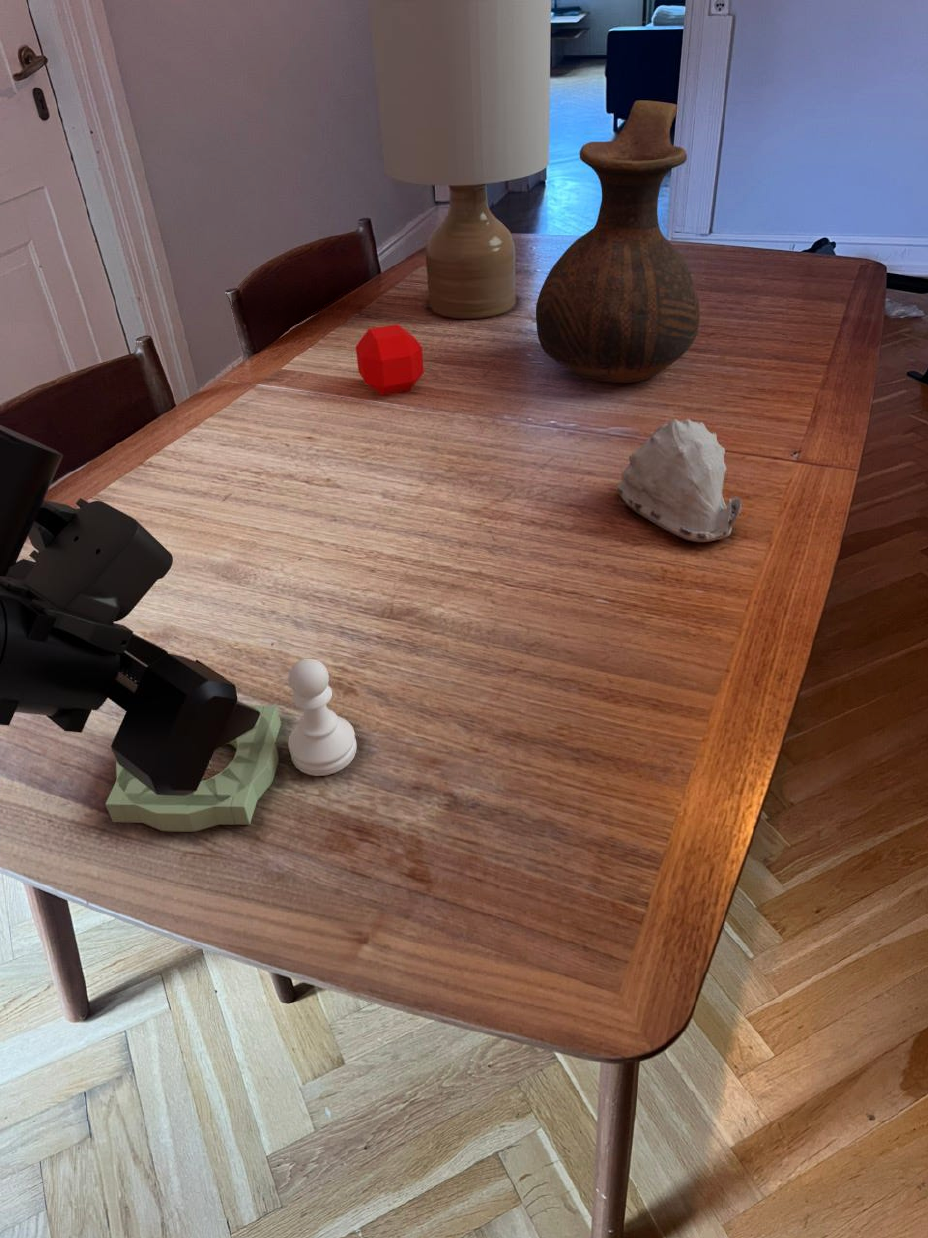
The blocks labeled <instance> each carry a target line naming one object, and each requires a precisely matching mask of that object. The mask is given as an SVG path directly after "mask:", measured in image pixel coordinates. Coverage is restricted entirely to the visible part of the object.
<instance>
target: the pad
mask: <svg viewBox="0 0 928 1238" xmlns="http://www.w3.org/2000/svg"><path fill="white" fill-rule="evenodd" d="M242 703H243V704H246V705H248V706H250V707H252V708H254V709H256V710H258V711H260V716H259V719H258V721H257V723H256V725H255V727H254V728H253V729H251V730H250V731H248V732H246V733H244V734H243V735H241V736H239V737H238V738H236V739H234V740H232V741H231V742H229V743H227V745H231V746H233V747H234V749H236V750H235V753H234V757H233V759H232V760H231V761H230V762H229V763H228V765H226V767H225V768H224V769H223V770H222V771H219V772H218V773H217V774H215V775H213V776H212V777H210V778H208V779H205V780H201V782H200V784H199V786H198V789H197V791H195V792H193V793H191V794H188V795H186V796H176V795H157V794H155V793H154V792H153V791H152V790H150V789H149V788H148V787H147V786H145V785H144V784H143V783H142V782H140V781H139V780H138V779H137V778H135V777H134V776H133V775H132V774H130V773H129V772H128V771H127V770H125V769H124V768H123V767H122V766H120V765H119V764H118V762H117V760H116V761H115V778H116V779H115V783H114V785H113V787H112V789H111V791H110V793H109V795H108V797H107V800H106V801H105V808H106V809H107V812H108V814H109V816H110V819H111V820H112V822H113V823H129V824H130V823H131V824H132V823H133V824H135V823H136V824H137V823H138V824H145V825H147V826H150V827H152V828H154V829H157V830H159V831H161V832H184V833H195V832H199V831H202V830H206V829H209V828H213V827H215V826H219V825H225V826H227V825H230V826H231V825H232V826H235V825H237V826H239V825H240V826H243V825H244V826H249V825H251V823H252V819H253V816H254V813H255V810H256V807H257V803H258V800H259V799H261V798H262V796H263V794H265V792H266V791H267V790H268V789H269V788H270V786H271V785H272V783H273V782H274V778H275V775H276V771H277V770H278V769H277V768H278V765H279V761H280V757H279V752H278V748H277V745H276V742H277V739H278V735H279V732H280V729H281V725H282V722H281V717H280V713H279V709H278V706H277V705H260V704H259V705H257V704H256V705H255V704H254V705H252V704H251V705H249V704H247V703H244V702H242Z"/></svg>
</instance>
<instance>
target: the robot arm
mask: <svg viewBox="0 0 928 1238" xmlns="http://www.w3.org/2000/svg"><path fill="white" fill-rule="evenodd" d="M63 458H64V454H63V453H61V452H59V451H58V450H56V449H54V448H52V447H50V446H47V445H46V444H43V443H41V442H39V441H37V440H35V439H33V438H31V437H29V436H27V435H25V434H22V433H20V432H17V431H15V430H13V429H10V428H8V427H6V426H3V425H1V424H0V725H1V726H10V725H11V722H12V720H13V718H14V716H15V713H20V714H29V715H38V716H45V717H47V718H48V719H49V720H50V721H51V722H53V723H55V725H56V726H58V727H59V728H60V729H61V730H63V732H68V733H69V732H71V733H80V734H82V733H83V731H84V728H85V727H86V724H87V721H88V719H89V718H90V715H91V713H92V711H98V710H99V709H100V708H101V707H103V705H104V704H105V703H106V701H107V700H110V701H111V702H113V703H114V704H116V705H117V706H118V707H120V708H121V709H122V710H123V711H125V713H124V716H123V718H122V720H121V722H120V725H119V727H118V729H117V732H116V734H115V736H114V738H113V740H112V742H111V745H110V748H111V750H112V753H113V755H114V758H115V760H116V761H117V762H118V764H119V765H120V766H122V767H123V768H124V769H125V770H127V771H128V772H129V773H130V774H132V775H133V776H134V777H135V778H137V779H138V780H139V781H140V782H142V783H143V784H144V785H145V786H147V787H148V788H149V789H150V790H152V791H153V792H154V793H155V794H157V795H176V796H186V795H188V794H191V793H193V792H195V791H197V789H198V786H199V784H200V782H201V781H203V778H204V775H205V773H206V771H207V769H208V767H209V764H210V762H211V760H212V758H213V755H214V753H215V751H217V750H218V749H220V748H222V747H224V746H225V745H228V743H229V742H231V741H232V740H234V739H236V738H238V737H239V736H241V735H243V734H244V733H246V732H248V731H250V730H251V729H253V728H254V727H255V725H256V723H257V721H258V719H259V716H260V711H258V710H256V709H254V708H252V707H250V706H248V705H249V704H247V703H244V702H241V701H238V693H237V692H238V691H237V688H236V687H237V686H236V684H235V683H233V682H231V681H230V680H228V679H227V678H226V677H224V676H223V675H222V674H220V673H219V672H217V671H216V670H215V669H212V668H211V667H209V666H207V665H206V664H205V663H203V662H201V661H200V660H198V659H196V660H194V659H190V658H188V657H186V656H182V655H178V654H173V653H169V652H168V650H166V649H165V648H163V647H161V646H159V645H157V644H155V643H153V642H151V641H149V640H147V639H145V638H144V637H141V636H139V635H137V634H136V633H134V631H133V630H132V629H130V628H129V627H128V626H126V625H124V624H120V623H116V622H119V621H121V620H123V619H125V618H126V617H128V616H129V615H130V613H131V612H132V611H133V610H134V609H135V607H137V606H138V604H139V603H140V601H142V600H143V598H144V597H145V596H146V594H147V593H148V592H149V591H150V590H151V588H153V586H154V585H155V584H156V583H157V582H158V580H162V579H164V578H165V577H166V575H167V574H168V573H169V572H170V570H171V568H172V566H173V562H174V556H173V554H172V553H171V552H170V551H169V550H168V549H167V548H166V547H165V546H164V545H163V544H162V543H161V542H160V541H159V540H157V538H156V537H154V536H153V535H152V534H151V533H150V532H149V531H148V530H147V529H146V528H145V526H143V525H142V524H141V523H140V522H139V521H138V520H137V519H136V518H134V517H132V516H131V515H128V514H127V513H125V512H123V511H121V510H119V509H117V508H115V507H113V506H112V505H111V504H108V503H106V502H104V501H102V500H93V501H91V502H89V501H87V500H85V499H83V498H81V497H80V498H79V499H78V500H77V501H76V502H75V504H76V506H78V507H77V508H75V507H72V506H71V505H68V504H65V503H60V502H55V501H51V500H46V499H45V498H46V495H47V493H48V491H49V489H50V487H51V484H52V482H53V480H54V478H55V476H56V473H57V471H58V469H59V466H60V464H61V461H62V459H63ZM27 539H29V542H30V545H31V546H32V547H33V548H34V549H32V551H31V552H30V554H29V555H28V556H29V558H31V559H33V561H32V560H29V559H26V558H22V559H20V560H18V559H19V557H20V556H21V555H20V554H21V552H22V550H23V548H24V545H25V543H26V542H27ZM243 703H244V704H243ZM246 704H247V705H246Z"/></svg>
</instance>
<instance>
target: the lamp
mask: <svg viewBox="0 0 928 1238" xmlns="http://www.w3.org/2000/svg"><path fill="white" fill-rule="evenodd" d="M368 7H369V19H370V20H369V21H370V29H371V31H370V32H371V40H372V51H373V60H374V72H375V73H374V74H375V82H376V83H375V84H376V94H377V104H378V105H377V107H378V117H379V126H380V136H381V148H382V158H383V168H384V169H383V170H384V173H385V175H386V176H388V177H389V178H392V179H394V180H396V181H399V182H405V183H409V184H416V185H426V186H447V187H448V188H449V195H448V197H449V198H448V199H449V207H448V209H447V213H446V215H445V216H444V218H443V220H442V221H441V222H440V223H439V224H438V225H437V226H436V227H435V228H434V230H433V231H432V233H431V234H430V235H429V237H428V239H427V241H426V247H425V263H426V264H425V265H426V274H427V278H426V279H427V292H428V299H429V300H428V301H429V307H430V309H431V310H432V311H433V312H434V313H435V314H437V315H439V316H442V317H446V318H451V319H458V320H470V319H471V320H473V319H485V318H486V319H487V318H491V317H495V316H496V317H497V316H499V315H502V314H506V313H507V312H509V311H510V310H512V309H513V308H514V306H515V305H516V303H517V298H516V297H517V294H516V292H517V290H516V289H517V288H516V286H517V281H516V265H517V262H516V259H517V257H516V255H517V254H516V253H517V252H516V246H515V242H514V239H513V235H512V233H511V231H510V229H508V227H506V225H504V223H502V221H500V220H499V219H498V218H497V217H496V216H495V215H494V213H493V212H492V211H491V210H490V207H489V201H488V193H487V191H488V190H487V186H488V184H493V183H502V182H507V181H512V180H517V179H521V178H525V177H529V176H532V175H535V174H537V173H539V172H542V171H543V170H544V169H546V168H547V167H548V166H549V164H550V107H551V106H550V105H551V104H550V102H551V101H550V100H551V99H550V98H551V34H552V33H551V32H552V31H551V29H552V28H551V27H552V26H551V25H552V23H551V22H552V21H551V20H552V19H551V18H552V0H368Z"/></svg>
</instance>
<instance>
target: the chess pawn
mask: <svg viewBox="0 0 928 1238" xmlns="http://www.w3.org/2000/svg"><path fill="white" fill-rule="evenodd" d="M329 682H330V676H329V671H328V669H327V667H326V666H325V665H324V663H323V662H321V661H320V660H318V659H315V658H304V659H301V660H299V661H297V662H295V664H294V665H293V666H291V668H290V670H289V673H288V684H289V687H290V689H291V690H292V692H293V694H292V703H293V704H294V705H295V707H297V708H298V709H301V710H303V714H302V715H301V716H300V718H299V720H298V723H297V725H296V726H294V728H293V730H291V732H290V734H289V736H288V741H287V746H288V750H289V754H290V758H291V762H292V764H293V765H294V767H295V768H296V769H297V770H298V771H300V772H301V773H304V774H307V775H309V776H314V777H315V776H316V777H321V776H322V777H323V776H329V775H333V774H336V773H338V772H340V771H341V770H343V769H345V768H346V767H348V766H349V765H350V764H351V762H352V761H353V759H355V756H356V753H357V746H358V745H357V740H356V732H355V730H354V727H353V726H352V724H351V723H350V722H349V721H348V720H347V719H345V718H344V717H341V716H339V715H337V714H336V712H335V711H334V710H332V709H331V708H328V707H327V705H328V703H329V702H330V701H331V699H332V697H333V690H332V688H331V687H330V685H329Z"/></svg>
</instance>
